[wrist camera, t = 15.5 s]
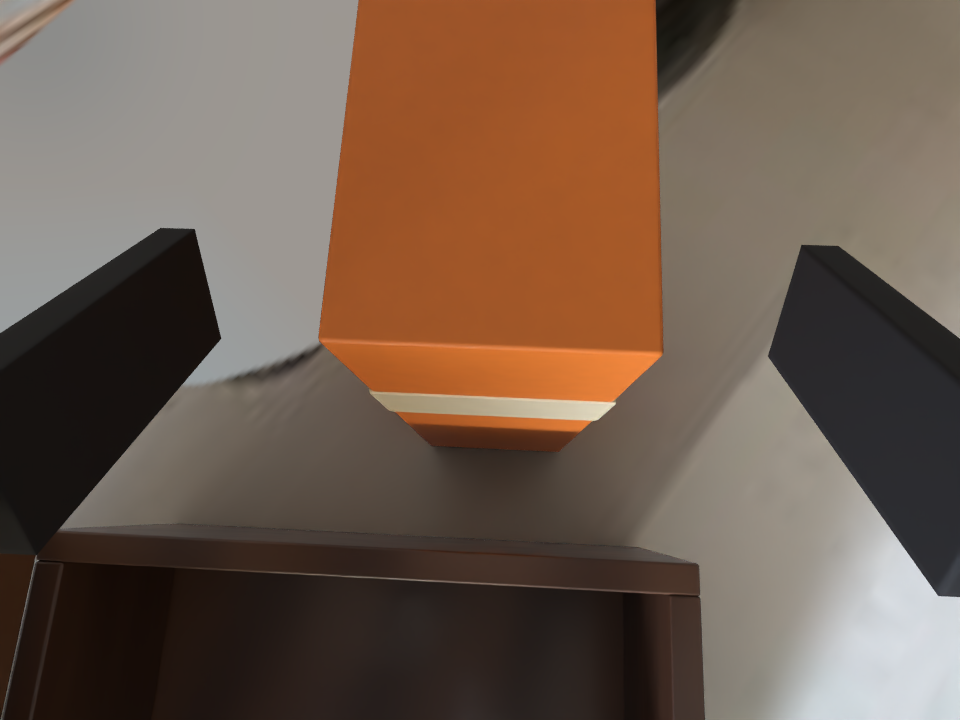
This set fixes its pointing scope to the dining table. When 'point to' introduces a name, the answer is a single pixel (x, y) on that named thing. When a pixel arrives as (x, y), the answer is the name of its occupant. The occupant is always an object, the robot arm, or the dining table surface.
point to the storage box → (353, 628)
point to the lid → (11, 610)
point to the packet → (498, 215)
